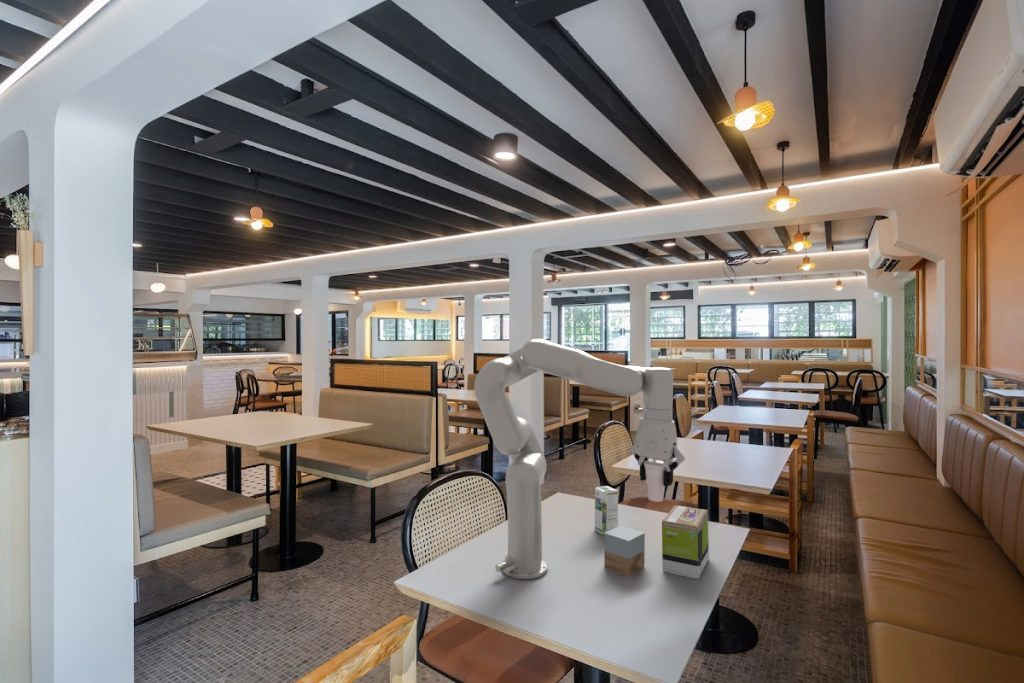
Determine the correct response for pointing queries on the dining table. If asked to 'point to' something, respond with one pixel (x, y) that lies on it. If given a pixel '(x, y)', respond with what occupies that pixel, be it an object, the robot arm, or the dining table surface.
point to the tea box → (685, 541)
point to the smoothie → (655, 479)
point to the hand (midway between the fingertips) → (655, 481)
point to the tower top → (624, 542)
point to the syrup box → (606, 509)
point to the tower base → (624, 563)
